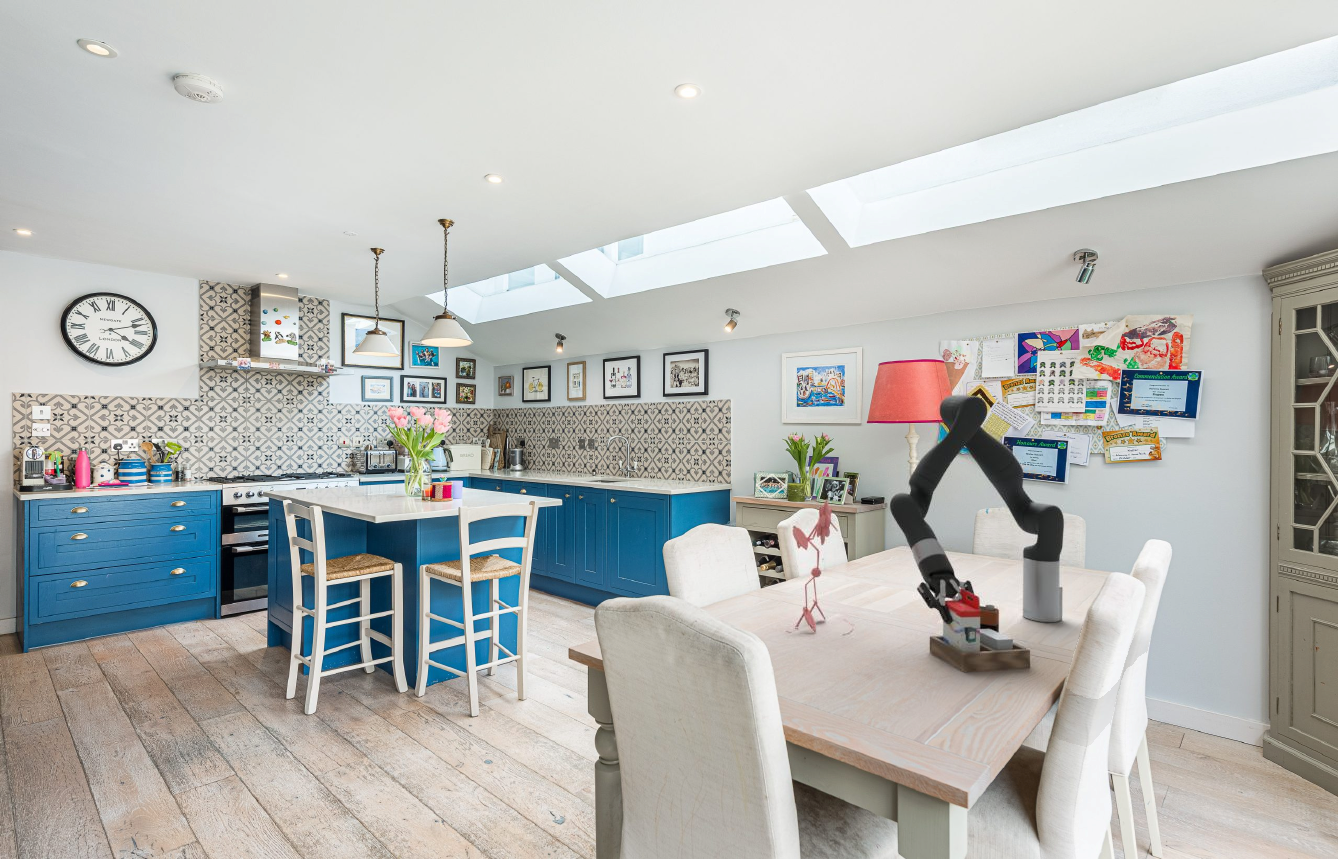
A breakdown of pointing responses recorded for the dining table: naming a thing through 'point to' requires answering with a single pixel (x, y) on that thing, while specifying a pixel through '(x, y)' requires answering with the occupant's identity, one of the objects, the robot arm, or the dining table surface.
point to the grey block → (995, 640)
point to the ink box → (963, 623)
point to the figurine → (802, 540)
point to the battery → (989, 618)
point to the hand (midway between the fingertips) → (961, 621)
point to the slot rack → (980, 657)
